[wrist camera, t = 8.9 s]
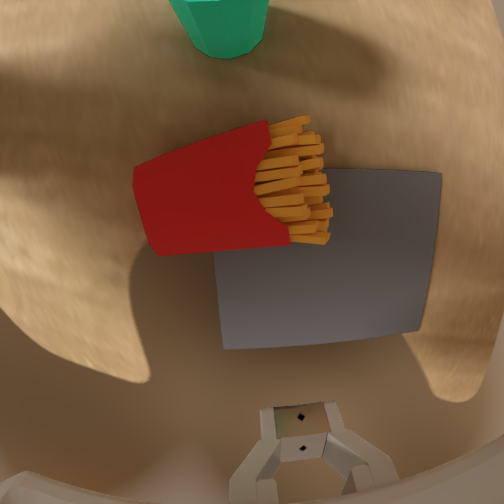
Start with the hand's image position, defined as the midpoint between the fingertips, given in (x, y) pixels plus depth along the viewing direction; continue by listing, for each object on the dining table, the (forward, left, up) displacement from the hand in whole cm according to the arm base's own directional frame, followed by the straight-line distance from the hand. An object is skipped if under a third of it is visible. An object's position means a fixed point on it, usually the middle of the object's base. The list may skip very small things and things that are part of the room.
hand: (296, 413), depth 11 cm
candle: (-3, +20, -16) cm, 26 cm away
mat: (+5, 0, -16) cm, 17 cm away
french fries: (-9, +5, -14) cm, 17 cm away
